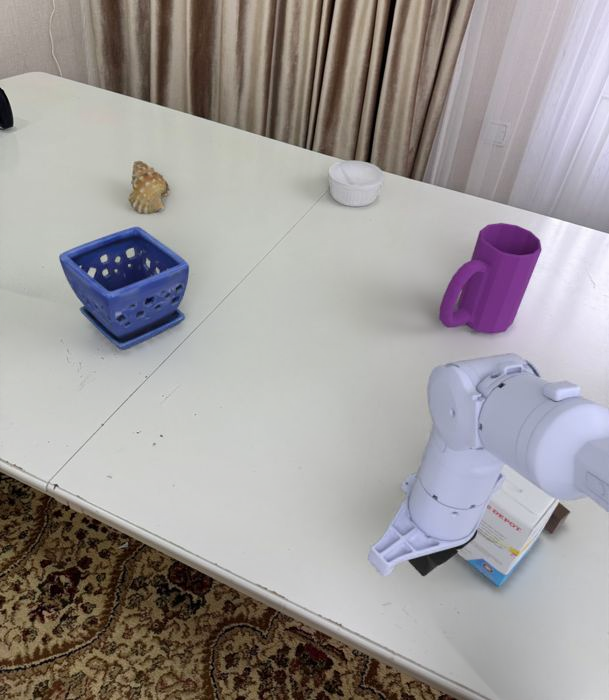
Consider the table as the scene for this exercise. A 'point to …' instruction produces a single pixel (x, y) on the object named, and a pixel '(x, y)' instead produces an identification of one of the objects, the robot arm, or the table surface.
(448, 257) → the table surface
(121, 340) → the flower pot
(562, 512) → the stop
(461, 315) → the mug
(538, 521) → the ink box
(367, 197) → the ramekin
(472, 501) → the robot arm
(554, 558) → the table surface
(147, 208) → the seashell
